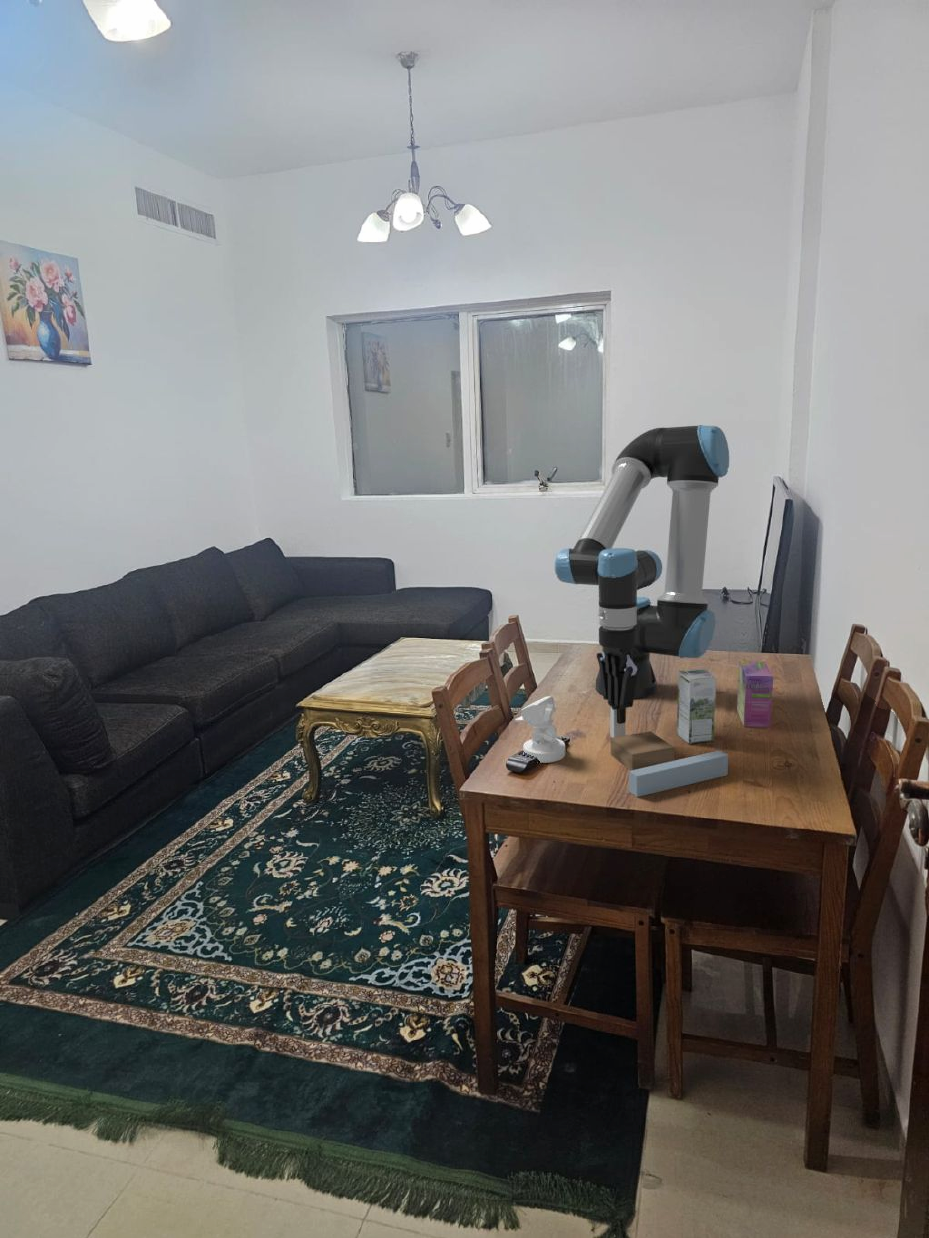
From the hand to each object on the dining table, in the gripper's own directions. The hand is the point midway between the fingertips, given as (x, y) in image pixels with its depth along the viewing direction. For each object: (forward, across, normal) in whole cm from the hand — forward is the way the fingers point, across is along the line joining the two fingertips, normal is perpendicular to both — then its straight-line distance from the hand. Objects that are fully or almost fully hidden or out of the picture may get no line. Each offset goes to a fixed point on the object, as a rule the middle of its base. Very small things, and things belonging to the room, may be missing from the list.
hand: (617, 735), depth 160 cm
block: (+2, +8, 0) cm, 9 cm away
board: (+2, +20, 0) cm, 21 cm away
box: (+2, +1, +34) cm, 34 cm away
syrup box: (+2, +4, +16) cm, 17 cm away
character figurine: (+2, -4, -16) cm, 16 cm away
